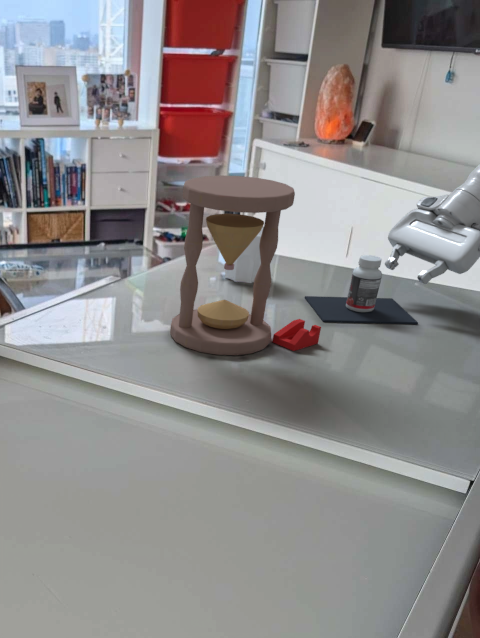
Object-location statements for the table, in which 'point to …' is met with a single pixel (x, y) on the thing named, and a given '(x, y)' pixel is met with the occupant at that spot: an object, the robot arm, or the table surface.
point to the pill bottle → (364, 284)
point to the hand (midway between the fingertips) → (404, 274)
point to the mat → (338, 312)
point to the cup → (246, 263)
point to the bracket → (297, 335)
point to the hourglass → (229, 261)
